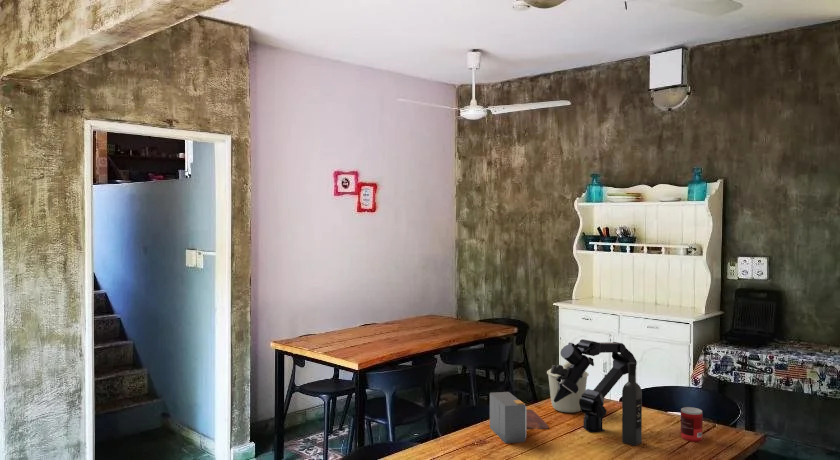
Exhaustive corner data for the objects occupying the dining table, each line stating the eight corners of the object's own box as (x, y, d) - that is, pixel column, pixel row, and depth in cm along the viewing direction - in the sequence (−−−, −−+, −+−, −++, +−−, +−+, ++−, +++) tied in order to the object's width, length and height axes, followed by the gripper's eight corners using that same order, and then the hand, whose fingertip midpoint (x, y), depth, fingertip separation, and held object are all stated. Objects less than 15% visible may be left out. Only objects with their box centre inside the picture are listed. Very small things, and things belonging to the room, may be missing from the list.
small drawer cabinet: (510, 426, 254) (510, 391, 253) (527, 441, 235) (527, 403, 235) (489, 427, 252) (489, 392, 252) (505, 443, 233) (505, 405, 233)
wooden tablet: (550, 430, 250) (550, 426, 250) (525, 431, 249) (525, 426, 249) (534, 411, 276) (534, 407, 276) (512, 411, 276) (512, 407, 276)
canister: (551, 402, 288) (551, 356, 288) (591, 406, 281) (591, 360, 281) (542, 412, 272) (542, 364, 272) (585, 417, 265) (585, 368, 265)
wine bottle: (642, 443, 234) (642, 363, 234) (634, 446, 230) (635, 365, 230) (628, 439, 238) (629, 360, 238) (620, 442, 234) (621, 362, 234)
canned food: (701, 436, 241) (701, 408, 241) (703, 443, 234) (703, 413, 234) (680, 434, 244) (680, 406, 244) (681, 440, 236) (681, 411, 236)
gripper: (556, 355, 255) (534, 386, 254) (563, 358, 237) (540, 391, 236) (579, 371, 254) (557, 403, 252) (588, 375, 235) (564, 410, 234)
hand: (554, 401), depth 244 cm, fingers closed
